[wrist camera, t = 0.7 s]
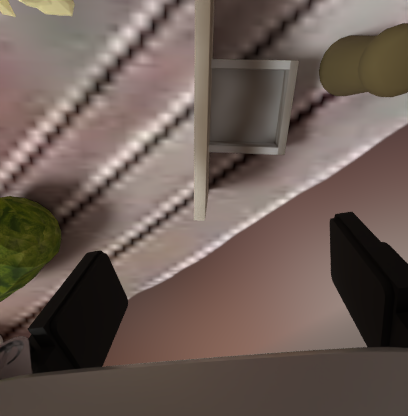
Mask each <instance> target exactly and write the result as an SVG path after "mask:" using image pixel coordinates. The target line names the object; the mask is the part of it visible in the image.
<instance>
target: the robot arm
mask: <svg viewBox="0 0 408 416" xmlns="http://www.w3.org/2000/svg"><path fill="white" fill-rule="evenodd" d="M330 253H331V277H332V280H333V283H334V285H335V287H336V288H337V290H338V292H339V294H340V296H341V298H342V300H343V302H344V303H345V305H346V307H347V309H348V311H349V313H350V315H351V317H352V318H353V321H354V322H355V324H356V326H357V328H358V330H359V332H360V334H361V336H362V337H363V339H364V341H365V343H366V345H367V348H366V347H363V348H345V349H344V348H343V349H325V350H309V351H296V352H295V351H294V352H281V353H267V354H254V355H241V356H228V357H214V358H202V359H191V360H190V359H189V360H177V361H165V362H153V363H140V364H129V365H118V366H106V367H102V366H103V363H104V361H105V359H106V357H107V354H108V352H109V349H110V347H111V345H112V342H113V340H114V337H115V335H116V333H117V330H118V328H119V325H120V323H121V321H122V318H123V316H124V314H125V311H126V309H127V306H128V299H127V296H126V294H125V292H124V290H123V288H122V285H121V283H120V281H119V279H118V277H117V274H116V272H115V270H114V268H113V266H112V264H111V261H110V259H109V257H108V255H107V254H106V253H103V252H102V251H94V252H89V253H87V254H86V255H85V256H84V257H83V259H82V260H81V261H80V262H79V264H78V265H77V266H76V268H75V269H74V270H73V271H72V273H71V274H70V275H69V277H68V278H67V279H66V280H65V282H64V283H63V284H62V286H61V287H60V288H59V289H58V291H57V292H56V293H55V295H54V296H53V297H52V298H51V300H50V301H49V302H48V304H47V305H46V306H45V307H44V309H43V310H42V311H41V313H40V314H39V315H38V316H37V318H36V319H35V320H34V322H33V323H32V324H31V325H30V327H29V328H28V330H29V332H30V333H31V334H32V335H31V336H30V338H29V339H28V338H26V337H24V336H18V337H15V338H12V339H10V340H8V341H6V342H4V343H2V344H1V345H0V416H408V264H407V263H406V262H405V261H404V260H403V259H402V258H401V257H400V256H399V254H398V253H396V251H395V250H394V249H393V248H392V247H391V246H390V245H388V244H387V243H385V242H380V240H379V239H378V238H377V237H376V236H375V235H374V234H373V233H372V232H371V231H370V230H369V229H368V228H367V227H366V226H365V225H364V224H363V223H362V222H361V220H360V219H359V218H358V217H357V216H356V215H355V214H354V213H353V212H347V213H340V214H335V217H334V218H332V219H330Z"/></svg>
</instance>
